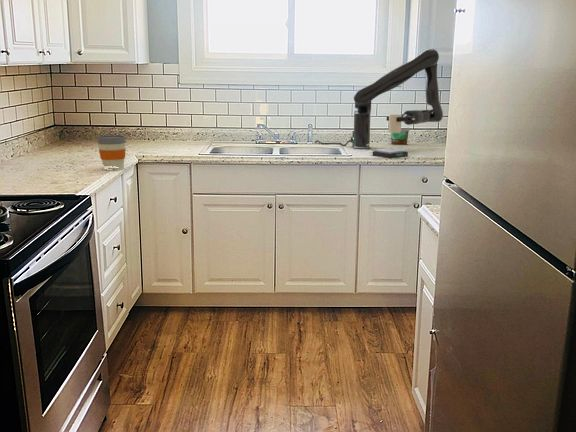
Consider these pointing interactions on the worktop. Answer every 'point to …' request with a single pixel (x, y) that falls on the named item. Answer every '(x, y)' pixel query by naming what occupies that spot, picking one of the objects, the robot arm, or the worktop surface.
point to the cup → (394, 124)
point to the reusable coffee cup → (112, 150)
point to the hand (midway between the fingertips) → (392, 119)
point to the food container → (400, 137)
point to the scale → (390, 153)
